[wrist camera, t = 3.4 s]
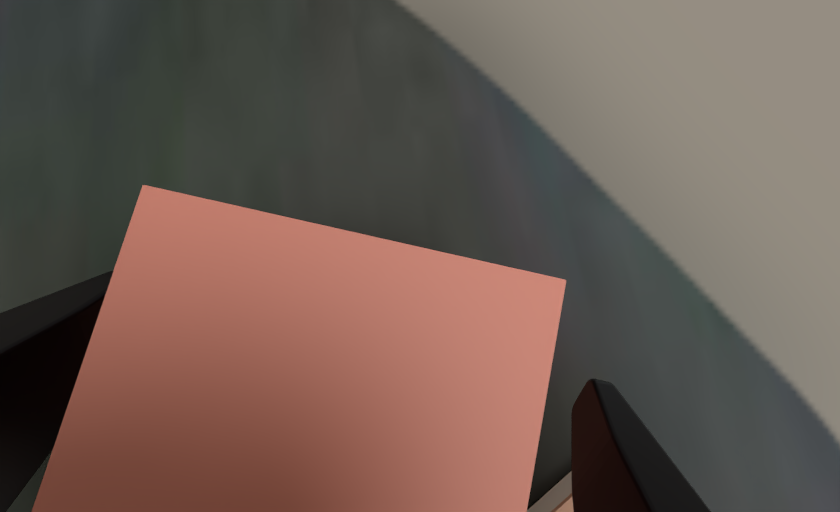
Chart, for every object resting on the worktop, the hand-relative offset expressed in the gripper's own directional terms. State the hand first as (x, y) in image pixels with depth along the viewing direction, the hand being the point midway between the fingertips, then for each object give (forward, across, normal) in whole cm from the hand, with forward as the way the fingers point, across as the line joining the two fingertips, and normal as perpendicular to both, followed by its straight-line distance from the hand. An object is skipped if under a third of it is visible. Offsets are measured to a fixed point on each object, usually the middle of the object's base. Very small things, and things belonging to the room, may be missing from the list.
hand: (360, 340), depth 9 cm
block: (+5, 0, +6) cm, 8 cm away
